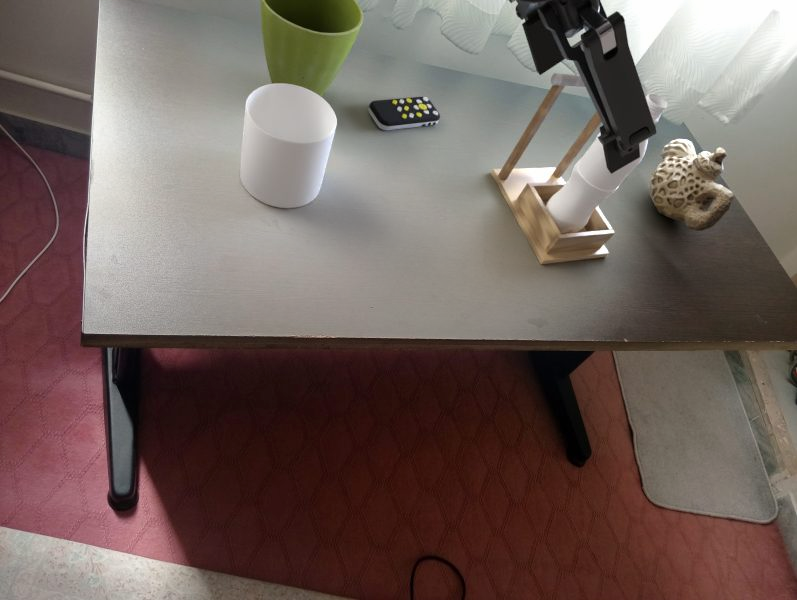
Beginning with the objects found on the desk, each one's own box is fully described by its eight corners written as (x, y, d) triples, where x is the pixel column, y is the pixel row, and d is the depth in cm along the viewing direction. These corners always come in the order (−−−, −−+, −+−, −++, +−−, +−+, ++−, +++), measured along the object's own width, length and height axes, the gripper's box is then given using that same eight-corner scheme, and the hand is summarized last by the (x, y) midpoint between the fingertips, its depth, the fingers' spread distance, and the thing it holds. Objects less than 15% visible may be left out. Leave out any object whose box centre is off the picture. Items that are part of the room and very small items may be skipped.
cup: (295, 143, 84) (308, 77, 74) (335, 196, 80) (353, 133, 71) (225, 160, 78) (228, 89, 68) (264, 218, 74) (274, 152, 65)
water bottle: (544, 237, 88) (644, 112, 68) (534, 204, 92) (626, 77, 72) (582, 243, 90) (689, 123, 70) (570, 210, 94) (670, 88, 74)
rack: (608, 256, 91) (700, 163, 75) (538, 264, 85) (621, 165, 68) (555, 171, 100) (626, 71, 84) (488, 173, 94) (551, 65, 77)
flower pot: (352, 90, 96) (375, 2, 83) (324, 138, 87) (345, 47, 74) (272, 55, 94) (284, -40, 82) (235, 100, 85) (242, 1, 73)
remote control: (364, 108, 94) (367, 98, 92) (424, 102, 100) (427, 93, 98) (380, 132, 91) (383, 123, 90) (440, 125, 98) (444, 116, 96)
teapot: (623, 165, 108) (676, 103, 97) (671, 177, 111) (727, 118, 100) (654, 248, 97) (718, 189, 85) (707, 258, 100) (775, 203, 88)
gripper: (412, -147, 39) (493, 52, 57) (586, 76, 28) (617, 234, 46) (505, -224, 37) (557, 7, 55) (730, -17, 26) (703, 186, 44)
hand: (584, 111), depth 51 cm, fingers open, 13 cm apart
